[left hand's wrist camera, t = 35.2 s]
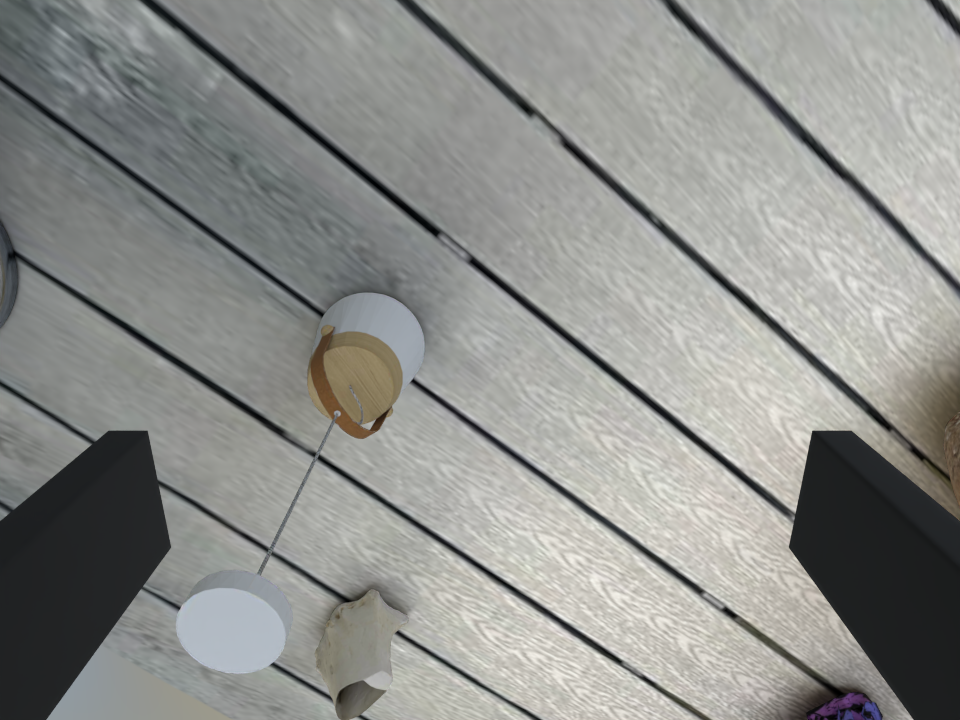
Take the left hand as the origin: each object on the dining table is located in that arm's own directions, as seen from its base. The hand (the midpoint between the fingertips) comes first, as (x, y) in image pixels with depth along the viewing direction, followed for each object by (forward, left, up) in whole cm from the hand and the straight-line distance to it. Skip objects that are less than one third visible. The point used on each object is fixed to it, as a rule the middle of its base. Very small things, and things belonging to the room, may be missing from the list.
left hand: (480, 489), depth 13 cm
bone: (-17, -34, -36) cm, 52 cm away
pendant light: (-10, -8, -36) cm, 38 cm away
